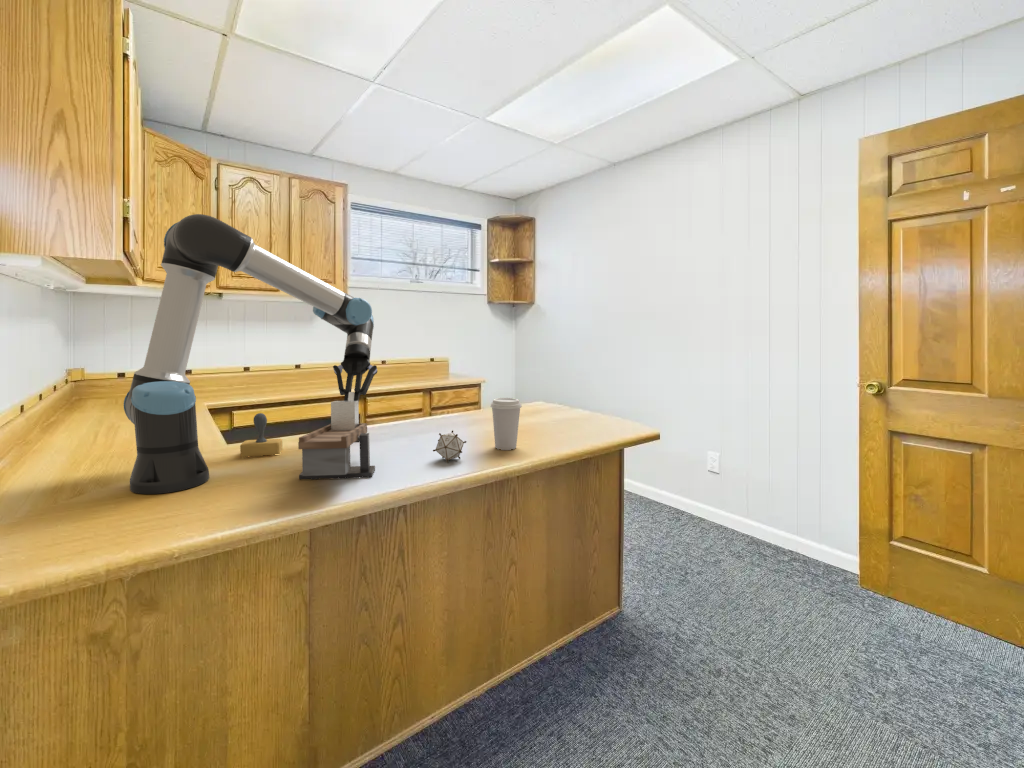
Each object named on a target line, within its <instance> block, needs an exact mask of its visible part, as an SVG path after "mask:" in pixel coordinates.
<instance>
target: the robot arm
mask: <svg viewBox="0 0 1024 768" xmlns="http://www.w3.org/2000/svg"><path fill="white" fill-rule="evenodd" d="M163 246H164V250H163V255H162V259H161V263H160V266H161V267H162V268H163V270H164V272H165V273H166V274H165V279H164V283H163V287H162V291H161V296H160V300H159V304H158V307H157V311H156V315H155V319H154V324H153V327H152V331H151V332H152V333H151V335H150V340H149V344H148V348H147V353H146V356H145V359H144V364H143V367H141V368H139V369H138V370H136V371H134V372H133V377H132V379H131V385H130V388H129V391H127V392H126V395H125V397H124V400H123V410H124V413H125V416H126V417H127V419H128V420H129V421H130V422H131V423H132V424H133V425H134V434H135V446H136V458H135V461H134V464H133V468H132V471H131V474H130V478H129V491H130V492H132V493H134V494H140V495H154V494H155V495H159V494H167V493H173V492H179V491H183V490H188V489H192V488H195V487H197V486H200V485H203V484H204V483H206V482H207V481H209V479H210V471H209V467H208V465H207V463H206V460H205V458H204V457H203V454H202V452H201V451H200V448H199V438H198V437H199V436H198V426H197V424H198V423H197V421H198V420H197V409H196V407H197V405H196V401H197V398H196V395H195V389H194V387H193V386H192V385H190V383H191V380H190V379H189V378H188V376H186V375H187V374H186V371H187V367H188V362H189V358H190V354H191V351H192V345H193V341H194V337H195V333H196V330H197V325H198V321H199V317H200V312H201V307H202V305H203V300H204V296H205V292H206V289H207V288H206V287H207V285H208V284H209V283H211V282H213V281H214V280H215V279H216V276H217V271H218V268H219V267H221V268H224V269H226V270H228V271H231V272H233V273H237V272H243V273H244V274H247V275H249V276H251V277H252V278H255V279H256V280H259V281H260V282H263V283H265V284H266V285H269V286H270V287H273V288H275V289H277V290H279V291H280V292H283V293H286V294H287V295H289V296H292V297H294V298H295V299H298V300H300V301H302V302H304V303H305V304H308V305H310V306H311V307H312V312H313V314H314V315H315V316H317V317H319V318H320V319H321V320H323V321H325V322H327V323H328V324H330V325H332V326H334V327H335V328H337V329H339V330H340V331H342V332H344V333H346V335H347V336H346V343H345V349H344V355H343V360H342V362H341V364H339V365H336V364H335V365H333V366H332V369H333V372H334V374H335V375H336V380H337V386H338V392H339V394H340V396H344V397H343V398H344V399H343V401H359V402H360V396H366V395H367V393H368V390H369V389H370V385H371V383H372V381H373V379H374V377H375V375H377V373H378V367H377V365H375V364H374V365H372V364H371V362H370V360H371V348H372V341H373V340H372V339H373V333H374V332H373V331H374V328H375V327H374V325H375V324H374V316H373V309H372V306H371V304H370V303H369V301H367V299H364V298H362V297H361V298H360V297H354V296H352V295H350V294H349V293H346V292H344V291H342V290H341V289H339V288H336V287H335V286H333V285H331V284H330V283H327V282H326V281H324V280H322V279H320V278H318V277H317V276H315V275H313V274H311V273H309V272H307V271H305V270H304V269H302V268H300V267H298V266H296V265H294V264H293V263H291V262H288V261H287V260H285V259H283V258H282V257H279V256H278V255H276V254H274V253H272V252H270V251H268V250H267V249H265V248H263V247H261V246H259V245H257V244H256V243H255V241H254V239H253V237H251V236H249V235H248V234H245V233H244V232H242V231H240V230H239V229H237V228H235V227H233V226H231V225H229V224H228V223H226V222H223V221H222V220H220V219H218V218H215V217H213V216H211V215H207V214H199V213H198V214H197V213H194V214H190V215H187V216H184V217H183V218H181V219H180V221H178V222H175V223H173V224H172V225H171V226H170V227H169V228H168V229H167V231H166V233H165V236H164V238H163ZM343 371H345V374H346V381H345V382H346V383H345V387H344V383H343V377H342V372H343ZM365 373H367V374H366V376H365V379H364V381H363V382H362V379H363V375H364V374H365ZM354 377H355V383H354V384H355V385H354V388H352V387H353V381H354ZM352 389H353V390H354V391H352Z"/></svg>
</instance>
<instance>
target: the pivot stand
mask: <svg viewBox="0 0 1024 768" xmlns="http://www.w3.org/2000/svg"><path fill="white" fill-rule="evenodd" d="M370 453H371V452H370V432H367V433H361V434H360V435H359V465H353V466H352V465H350V470H349V471H348V472H347V473H346V475H319V476H303V472H302V471H301V473H300V474H299V475H298V480H299V479H311V480H320V479H319V478H340V479H360V478H359V477H369V478H373V476H374V474H375V472H374V471H376V466H375V465H371V461H370V460H371V458H370V455H371V454H370ZM373 473H374V474H373Z"/></svg>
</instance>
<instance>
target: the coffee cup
mask: <svg viewBox="0 0 1024 768" xmlns="http://www.w3.org/2000/svg"><path fill="white" fill-rule="evenodd" d="M521 403H522V402H520V399H518V398H513V397H496V398H494V399H492V402H491V403H490V408H491V410H492V422H493V433H494V447H495V449H496V448H497V449H496V450H499V449H501V450H500V451H512V450H511V449H513V450H516V449H517V444H518V443H517V442H518V433H519V424H520V423H519V422H520V421H519V420H520V413H521V408H522V407H523V406H522V404H521ZM515 448H516V449H515Z"/></svg>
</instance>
